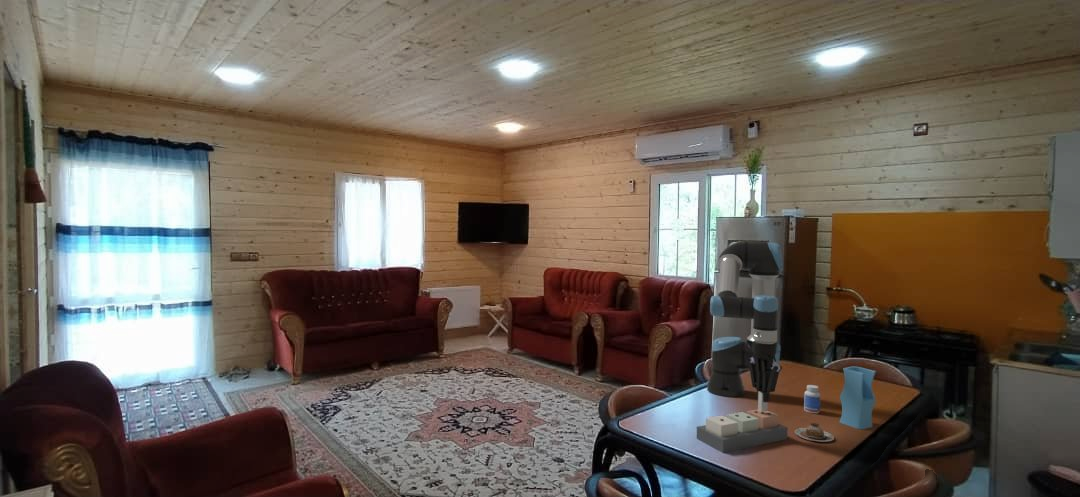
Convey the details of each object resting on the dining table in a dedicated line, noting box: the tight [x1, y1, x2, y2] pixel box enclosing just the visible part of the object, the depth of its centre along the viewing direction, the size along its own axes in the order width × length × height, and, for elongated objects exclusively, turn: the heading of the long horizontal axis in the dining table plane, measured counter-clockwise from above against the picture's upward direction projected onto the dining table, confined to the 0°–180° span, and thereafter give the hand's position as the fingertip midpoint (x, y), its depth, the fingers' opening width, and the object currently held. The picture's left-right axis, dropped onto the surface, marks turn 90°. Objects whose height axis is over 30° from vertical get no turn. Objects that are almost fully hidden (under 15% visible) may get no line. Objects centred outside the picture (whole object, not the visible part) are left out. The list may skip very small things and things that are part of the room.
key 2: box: [726, 411, 759, 433], centre depth 176 cm, size 7×7×4 cm
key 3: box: [746, 408, 779, 429], centre depth 179 cm, size 7×7×4 cm
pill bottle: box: [803, 384, 821, 414], centre depth 204 cm, size 6×5×10 cm
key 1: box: [705, 415, 738, 437], centre depth 172 cm, size 7×7×4 cm
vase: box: [839, 366, 877, 430], centre depth 190 cm, size 8×8×20 cm
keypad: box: [696, 423, 788, 453], centre depth 176 cm, size 12×28×4 cm, turn 114°
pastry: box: [794, 422, 835, 443], centre depth 179 cm, size 12×12×5 cm
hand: (762, 410), depth 179 cm, fingers closed
